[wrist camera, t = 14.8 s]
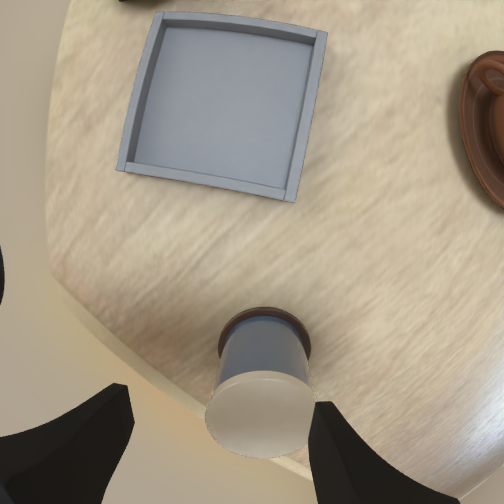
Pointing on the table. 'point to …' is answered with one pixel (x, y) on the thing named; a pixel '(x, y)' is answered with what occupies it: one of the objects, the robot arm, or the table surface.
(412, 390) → the table surface
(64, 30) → the table surface
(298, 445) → the canister
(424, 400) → the table surface
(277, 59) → the tray
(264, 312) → the coaster
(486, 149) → the cup and saucer
